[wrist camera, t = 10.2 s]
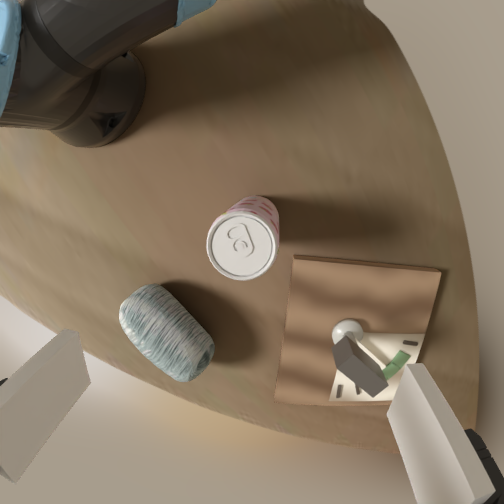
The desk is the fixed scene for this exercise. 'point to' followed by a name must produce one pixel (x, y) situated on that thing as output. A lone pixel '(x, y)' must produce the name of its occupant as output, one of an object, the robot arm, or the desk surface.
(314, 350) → the dial board
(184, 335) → the pale teal yarn skein
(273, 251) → the beverage can
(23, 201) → the desk surface
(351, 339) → the grey piece
